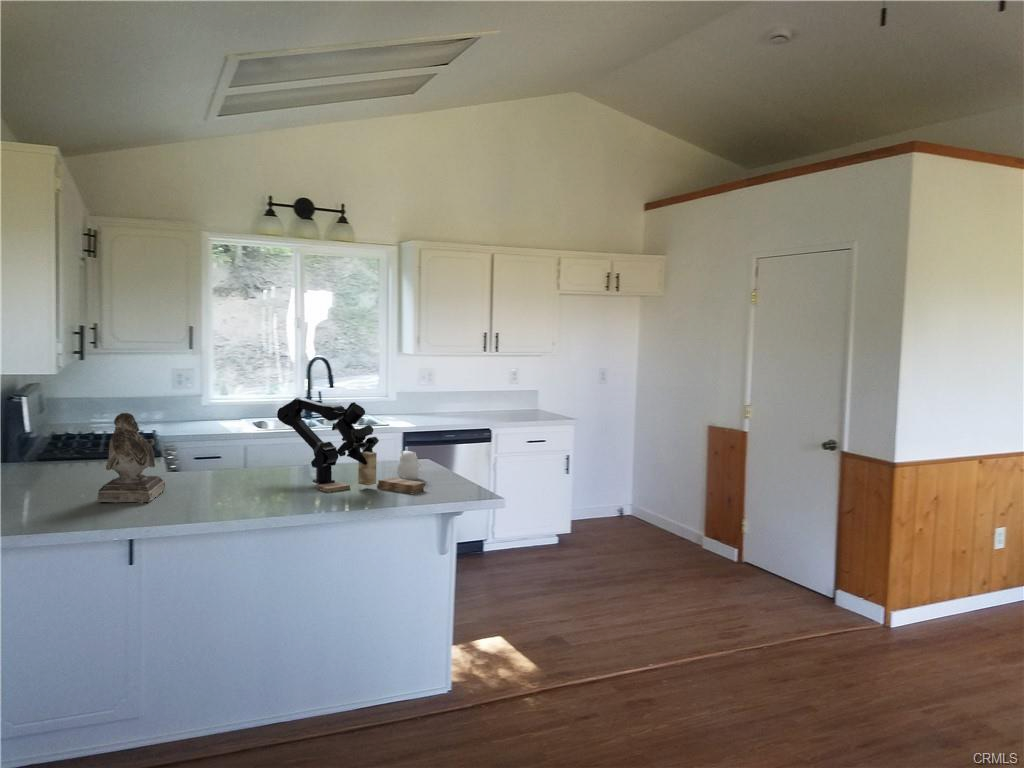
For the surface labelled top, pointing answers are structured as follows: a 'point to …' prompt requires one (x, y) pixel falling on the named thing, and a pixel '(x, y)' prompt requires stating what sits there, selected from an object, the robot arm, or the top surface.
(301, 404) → the robot arm
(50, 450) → the top surface
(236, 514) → the top surface
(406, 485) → the plank stack
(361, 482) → the upright offcut
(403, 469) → the figurine
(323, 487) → the loose offcut
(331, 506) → the top surface
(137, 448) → the sculpture
